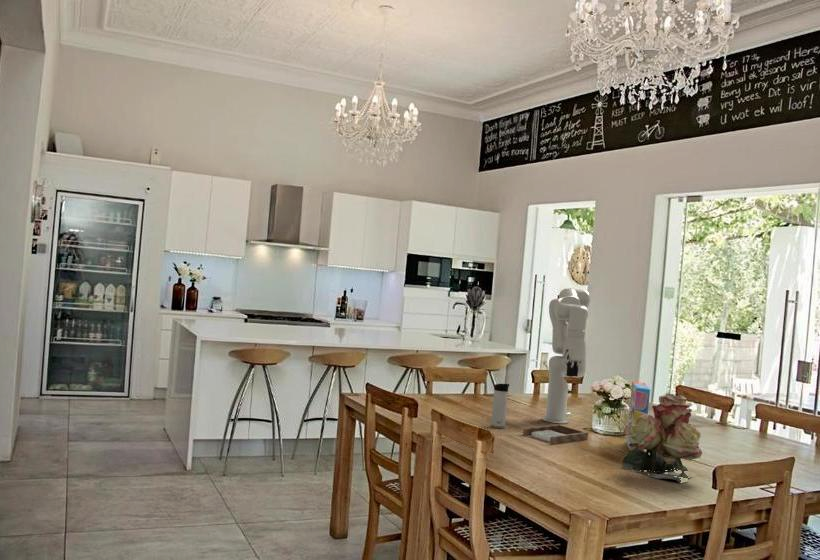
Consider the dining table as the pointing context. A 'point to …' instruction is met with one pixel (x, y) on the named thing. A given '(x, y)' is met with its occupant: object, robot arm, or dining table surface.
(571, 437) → the tray
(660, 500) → the dining table surface
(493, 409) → the travel mug
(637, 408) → the game box
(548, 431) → the cover plate
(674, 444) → the rose bouquet
